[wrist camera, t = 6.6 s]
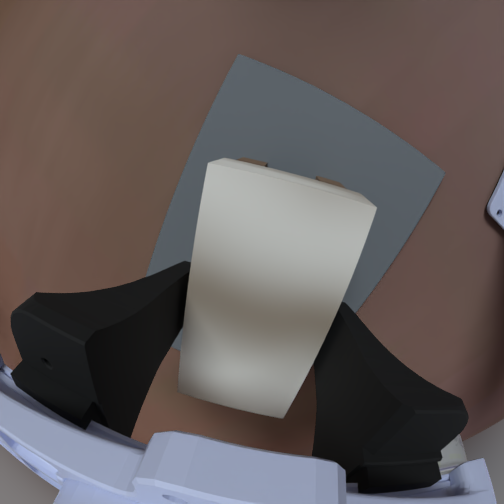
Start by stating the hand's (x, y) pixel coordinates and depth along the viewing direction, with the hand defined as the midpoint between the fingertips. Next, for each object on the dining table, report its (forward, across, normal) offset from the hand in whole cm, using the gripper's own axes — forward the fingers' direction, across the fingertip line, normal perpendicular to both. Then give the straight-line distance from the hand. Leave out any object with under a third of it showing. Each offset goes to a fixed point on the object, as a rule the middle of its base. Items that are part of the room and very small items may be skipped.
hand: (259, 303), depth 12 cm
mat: (+5, 0, 0) cm, 5 cm away
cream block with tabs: (+4, 0, 0) cm, 4 cm away
